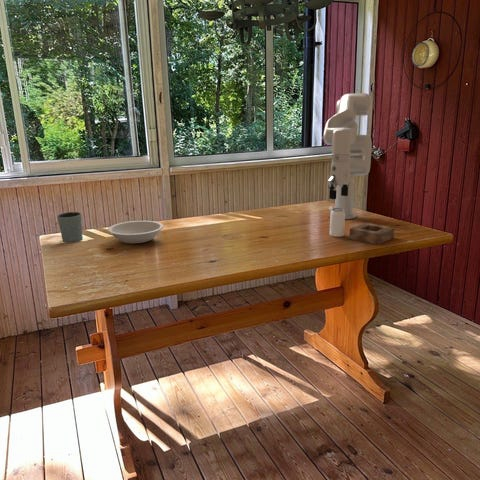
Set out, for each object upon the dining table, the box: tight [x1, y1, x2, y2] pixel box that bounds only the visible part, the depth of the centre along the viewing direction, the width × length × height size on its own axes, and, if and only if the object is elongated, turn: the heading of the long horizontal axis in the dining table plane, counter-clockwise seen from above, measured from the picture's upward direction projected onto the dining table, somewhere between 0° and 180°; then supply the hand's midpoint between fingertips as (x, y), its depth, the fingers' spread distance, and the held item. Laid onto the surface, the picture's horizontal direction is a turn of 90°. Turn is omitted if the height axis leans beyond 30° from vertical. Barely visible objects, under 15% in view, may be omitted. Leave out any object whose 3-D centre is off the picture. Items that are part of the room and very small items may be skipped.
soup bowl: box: [107, 220, 164, 245], centre depth 198 cm, size 24×24×7 cm
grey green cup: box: [56, 211, 83, 244], centre depth 201 cm, size 10×10×12 cm
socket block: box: [348, 222, 395, 246], centre depth 198 cm, size 14×14×4 cm
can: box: [329, 208, 346, 238], centre depth 202 cm, size 6×6×12 cm
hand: (338, 197), depth 199 cm, fingers open, 9 cm apart
